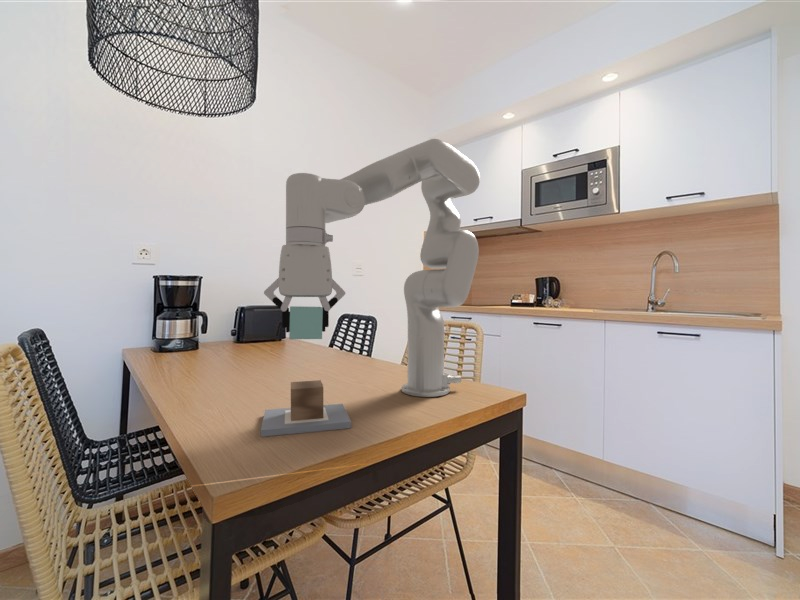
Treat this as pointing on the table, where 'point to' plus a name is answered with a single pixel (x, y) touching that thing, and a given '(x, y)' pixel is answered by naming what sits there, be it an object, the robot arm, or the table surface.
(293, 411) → the walnut block
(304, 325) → the teal block
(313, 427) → the board
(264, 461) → the table surface
